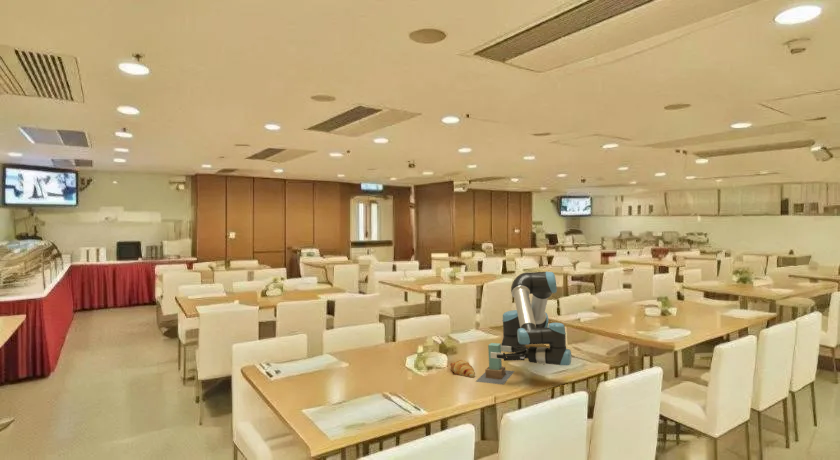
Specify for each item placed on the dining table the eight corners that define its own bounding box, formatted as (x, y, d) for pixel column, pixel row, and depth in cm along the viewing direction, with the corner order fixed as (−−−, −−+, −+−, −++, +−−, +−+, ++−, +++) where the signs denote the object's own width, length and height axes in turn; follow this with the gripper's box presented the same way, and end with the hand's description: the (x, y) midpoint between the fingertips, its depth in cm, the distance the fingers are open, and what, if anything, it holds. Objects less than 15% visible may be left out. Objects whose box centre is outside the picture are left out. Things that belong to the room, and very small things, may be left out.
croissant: (478, 384, 233) (484, 369, 235) (464, 378, 229) (469, 363, 231) (455, 373, 252) (460, 359, 254) (441, 367, 247) (447, 353, 249)
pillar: (492, 366, 236) (491, 342, 236) (501, 367, 234) (500, 343, 234) (489, 369, 232) (488, 345, 232) (498, 370, 230) (497, 345, 230)
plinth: (490, 373, 238) (490, 365, 238) (505, 374, 235) (505, 366, 235) (485, 377, 231) (485, 369, 231) (501, 379, 228) (500, 371, 228)
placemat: (488, 369, 246) (488, 368, 246) (514, 371, 240) (514, 371, 240) (475, 382, 226) (475, 381, 226) (503, 385, 220) (503, 384, 220)
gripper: (531, 370, 212) (487, 365, 221) (543, 356, 234) (502, 352, 244) (531, 353, 212) (486, 350, 221) (542, 341, 234) (501, 338, 244)
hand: (494, 351), depth 232 cm, fingers open, 13 cm apart
